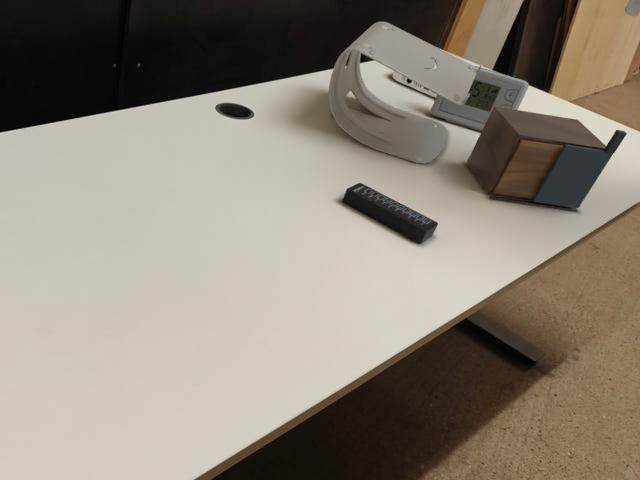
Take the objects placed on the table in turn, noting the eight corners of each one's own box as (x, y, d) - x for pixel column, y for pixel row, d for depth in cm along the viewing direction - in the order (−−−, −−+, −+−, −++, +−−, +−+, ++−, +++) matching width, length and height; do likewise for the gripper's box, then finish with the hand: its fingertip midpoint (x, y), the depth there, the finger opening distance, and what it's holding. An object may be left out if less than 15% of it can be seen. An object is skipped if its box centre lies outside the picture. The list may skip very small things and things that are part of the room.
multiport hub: (419, 244, 101) (426, 231, 100) (340, 201, 108) (345, 188, 106) (433, 235, 104) (439, 222, 102) (355, 194, 110) (360, 181, 109)
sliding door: (578, 209, 117) (627, 133, 108) (533, 202, 117) (578, 125, 107) (576, 206, 118) (624, 130, 109) (531, 199, 117) (575, 123, 108)
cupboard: (576, 211, 118) (614, 153, 111) (491, 199, 117) (523, 139, 109) (545, 175, 128) (577, 119, 121) (466, 163, 127) (493, 106, 119)
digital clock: (424, 114, 143) (446, 63, 135) (437, 104, 148) (459, 55, 141) (499, 143, 137) (525, 91, 130) (509, 131, 143) (535, 81, 136)
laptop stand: (346, 93, 146) (371, 16, 135) (454, 127, 140) (489, 50, 129) (313, 130, 128) (339, 45, 117) (435, 170, 122) (474, 85, 111)
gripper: (734, -73, 88) (657, 33, 98) (697, -108, 101) (633, -12, 111) (686, -87, 88) (614, 21, 98) (655, -120, 102) (595, -23, 112)
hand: (624, 3), depth 105 cm, fingers open, 8 cm apart
